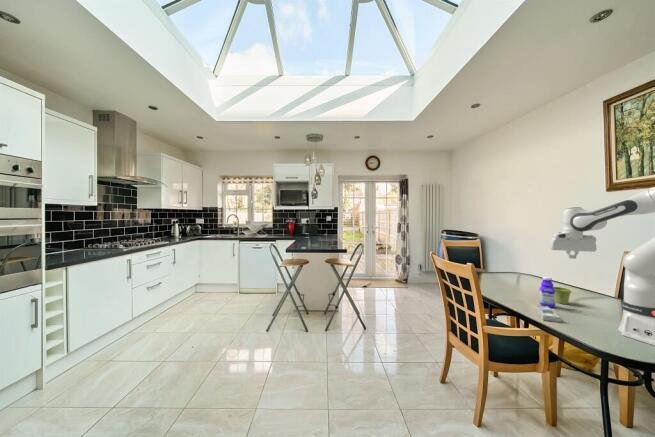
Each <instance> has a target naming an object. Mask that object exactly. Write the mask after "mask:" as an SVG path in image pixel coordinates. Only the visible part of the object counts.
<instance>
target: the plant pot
mask: <svg viewBox="0 0 655 437" xmlns="http://www.w3.org/2000/svg"><path fill="white" fill-rule="evenodd" d="M553 288H554V289H555V304H556V303H557V304H561V305H568V304H569V301H570V295H571V293H572V292H573V290H572V289H571V288H568V287H567V288H566V287H561V286H553Z"/></svg>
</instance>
